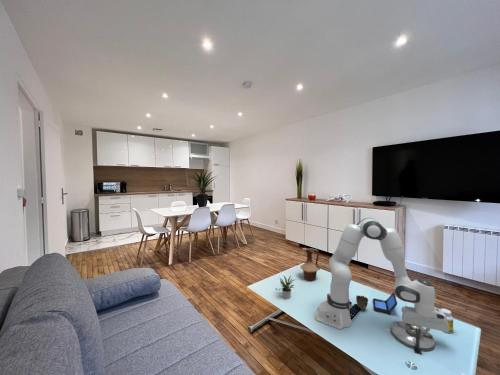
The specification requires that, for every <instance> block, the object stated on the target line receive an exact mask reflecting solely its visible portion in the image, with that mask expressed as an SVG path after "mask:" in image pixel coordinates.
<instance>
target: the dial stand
mask: <svg viewBox="0 0 500 375" xmlns="http://www.w3.org/2000/svg"><path fill="white" fill-rule="evenodd" d="M412 328H413V329H414V330H415V334H416V349H414V348H413V349H412V350H413V352H414V354H418V355H423V353H422V352H423V351H421V350H420V330H419V326H418V325H416V324H412Z"/></svg>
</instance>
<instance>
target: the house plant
mask: <svg viewBox="0 0 500 375" xmlns="http://www.w3.org/2000/svg"><path fill="white" fill-rule="evenodd" d="M282 277H283V279H282V278H281V277H279V280H280V285H279V286H281V291H282V292H281V293H282V298H283V297H284V298H285V300H289V299H290V298H291V294H292V289H293V288H294V286H295V285H294V284H292V283H293V282H294V281H297V279H293V278H291V277H292V275H290V276H289V277H288V279H287V278H286V276H285V275H283V276H282ZM284 298H283V299H284Z"/></svg>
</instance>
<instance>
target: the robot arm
mask: <svg viewBox="0 0 500 375" xmlns="http://www.w3.org/2000/svg"><path fill="white" fill-rule="evenodd" d="M364 237H366V238H367V239H370V240H376V241H379V244H380V248H381V251H382V253H383V256H384V257H385V259H386V260H387V261H389V262H390V263H391V265H392V268H393V272H394V276H395V277H394V280H393V281H394V282H393V284H394V293H395V297H396V298H398V299H399V300H400V301H402V302H406V303H412V304H414V307H413V306H407V305H405V306H402V307H401V313H402V314H401V321H404V323H407V324H416V325H418V326H419V328H420V330H421V334H425V335H428V332H429V333H430V332H431V330H435V331H440V332H443V333H446V332H448V331H449V325H448V322H447V320H446V318H447V317H446V315H445V314H444V312H443V311H442V310H441V309H442V308H439V307H436V306H435V301H436V290H435V288H434V285H433V284H432V283H431V282H429V281H428V280H426V279H423V278H417V279H415V280H412V278H411V277H410V276H409V274H408V272H407V269H406V266H405V261H404V260H405V258H406V254H405V248H404V247H405V246H404V245H403V242H402V239H401V237H400V234H399V233H398V231H397V229H395V228H393V227H384V226H383V225H382V224H381V223H380V222H379V221H377V220H376V219H375V218H373V217H366V218H365V217H364V218H363V219H362V220H360V221H359V222H358V223H356V224H355V223H349V224H347V225H346V226H345V228H344V230H343V231H342V234H341V235H340V238H339V241H338V243H337V247H336V249H335V250H334V252H333V254H332V256H331V257H330V258H329V261H328V268H329V270H330V273H331V279H330V280H331V281H330V284H329V288H330V290H329V292H330V293H327V294H326V300H325V301H322V302H321V303H320V304H318V305H319V306H318V307H317V308H316V309H315V311H314V319H315V320H316V321H317V322H319V323H322V324H325V325H327V326H330V327H333V328H335V329H336V330H337V329H338V330H342V329H344V328H348V327H351V326H352V324H353V322H352V319H351V314H350V309H351V301H350V285H351V284H350V283H351V282H352V279H353V278H352V277H353V276H352V271H351V269H350V267H349V263H350V262H351V261H352V260H353V258H355V257H356V255H357V251H358V249H359V246H360V243H361V241H362V239H363V238H364ZM422 328H423V329H424V328H425V330H423V329H422Z"/></svg>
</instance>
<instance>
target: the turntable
mask: <svg viewBox="0 0 500 375" xmlns="http://www.w3.org/2000/svg"><path fill="white" fill-rule="evenodd" d="M406 324H407V323H404V321H403V320H398V321H397V320H396V321H393V322H392V323H391V324H390V332H391V331H392V333H393V334H394V336H395V337H396V338H398V339H399V340H400V341H402V342H403V343H405V344H407V345H409V346H412V347H415V348H416V337H412V336H410V335H409V334H407V333H406V331H405V325H406ZM422 329H423V330H426V328H424V327H422ZM434 343H435V338H434V337H433V335H432V334H431V333H430V331H429V332H428V335H425V334H421V337H420V349H431V348H433V347H434Z"/></svg>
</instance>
